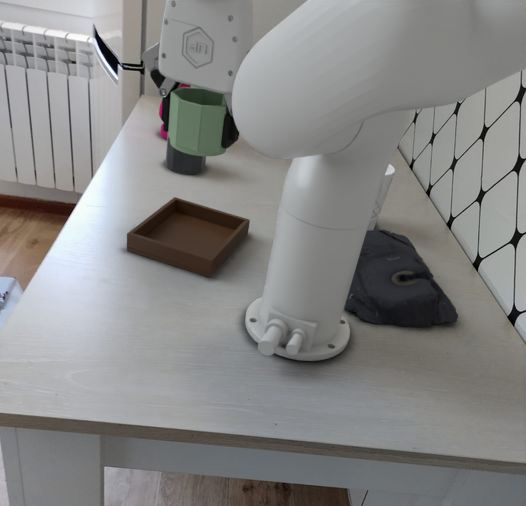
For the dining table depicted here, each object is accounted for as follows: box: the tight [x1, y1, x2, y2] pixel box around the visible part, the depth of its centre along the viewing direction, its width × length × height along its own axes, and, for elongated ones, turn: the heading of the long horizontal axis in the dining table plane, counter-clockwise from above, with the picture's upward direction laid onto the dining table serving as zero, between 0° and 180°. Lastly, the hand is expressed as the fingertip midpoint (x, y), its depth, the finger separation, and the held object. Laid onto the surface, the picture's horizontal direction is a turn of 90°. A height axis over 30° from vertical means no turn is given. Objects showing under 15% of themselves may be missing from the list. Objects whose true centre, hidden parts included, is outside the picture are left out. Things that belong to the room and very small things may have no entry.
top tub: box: [168, 86, 229, 157], centre depth 73 cm, size 7×7×6 cm
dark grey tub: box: [165, 132, 207, 176], centre depth 103 cm, size 7×7×6 cm
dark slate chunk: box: [344, 228, 459, 328], centre depth 82 cm, size 15×22×5 cm
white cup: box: [367, 164, 396, 231], centre depth 94 cm, size 8×8×10 cm
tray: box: [126, 197, 251, 278], centre depth 82 cm, size 14×12×3 cm
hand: (199, 136), depth 74 cm, fingers closed on top tub, 7 cm apart
